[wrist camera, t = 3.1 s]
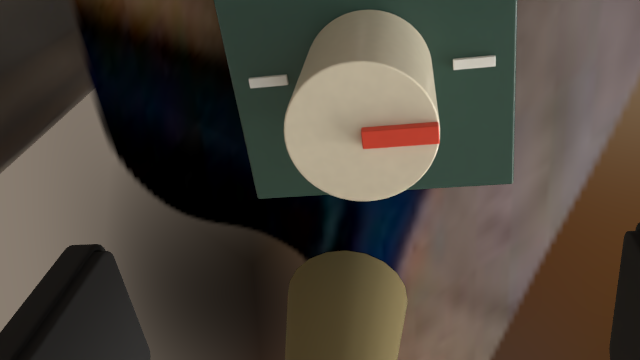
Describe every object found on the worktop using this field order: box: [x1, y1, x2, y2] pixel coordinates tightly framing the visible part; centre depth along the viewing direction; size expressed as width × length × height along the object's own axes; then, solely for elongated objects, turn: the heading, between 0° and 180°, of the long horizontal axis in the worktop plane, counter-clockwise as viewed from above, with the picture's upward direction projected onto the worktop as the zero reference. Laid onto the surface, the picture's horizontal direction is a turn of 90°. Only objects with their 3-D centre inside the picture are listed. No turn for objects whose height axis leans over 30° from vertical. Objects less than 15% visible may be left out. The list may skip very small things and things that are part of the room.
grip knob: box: [284, 10, 440, 201], centre depth 19 cm, size 4×4×5 cm
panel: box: [214, 0, 517, 199], centre depth 23 cm, size 10×10×3 cm
